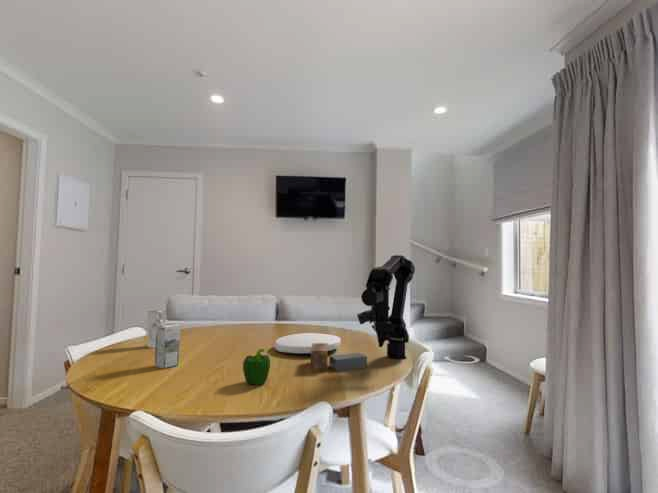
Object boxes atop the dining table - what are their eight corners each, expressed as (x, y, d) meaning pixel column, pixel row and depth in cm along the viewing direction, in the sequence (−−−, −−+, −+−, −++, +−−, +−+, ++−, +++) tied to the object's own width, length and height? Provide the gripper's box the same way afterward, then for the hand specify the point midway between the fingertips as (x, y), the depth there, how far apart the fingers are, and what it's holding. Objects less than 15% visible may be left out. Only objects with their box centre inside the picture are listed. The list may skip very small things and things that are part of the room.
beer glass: (149, 344, 154) (151, 310, 155) (166, 344, 155) (167, 310, 155) (143, 348, 147) (144, 312, 148) (160, 348, 148) (161, 312, 148)
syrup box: (169, 362, 127) (171, 322, 128) (179, 365, 123) (180, 324, 124) (154, 366, 122) (155, 324, 123) (163, 369, 119) (165, 326, 119)
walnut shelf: (327, 361, 131) (327, 343, 131) (327, 371, 119) (327, 351, 120) (312, 361, 131) (312, 343, 131) (310, 371, 119) (310, 350, 120)
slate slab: (359, 363, 130) (359, 352, 130) (367, 368, 125) (367, 356, 125) (329, 366, 125) (329, 355, 125) (336, 371, 120) (336, 360, 120)
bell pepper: (249, 389, 101) (250, 354, 102) (238, 381, 108) (239, 349, 108) (275, 384, 106) (276, 350, 106) (263, 376, 113) (264, 345, 113)
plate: (266, 344, 137) (282, 331, 164) (267, 361, 137) (283, 345, 163) (337, 339, 135) (341, 327, 161) (338, 356, 134) (342, 341, 161)
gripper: (356, 300, 135) (356, 340, 135) (360, 306, 117) (360, 353, 116) (385, 300, 135) (384, 341, 135) (394, 306, 117) (394, 353, 116)
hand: (380, 346), depth 125 cm, fingers closed
